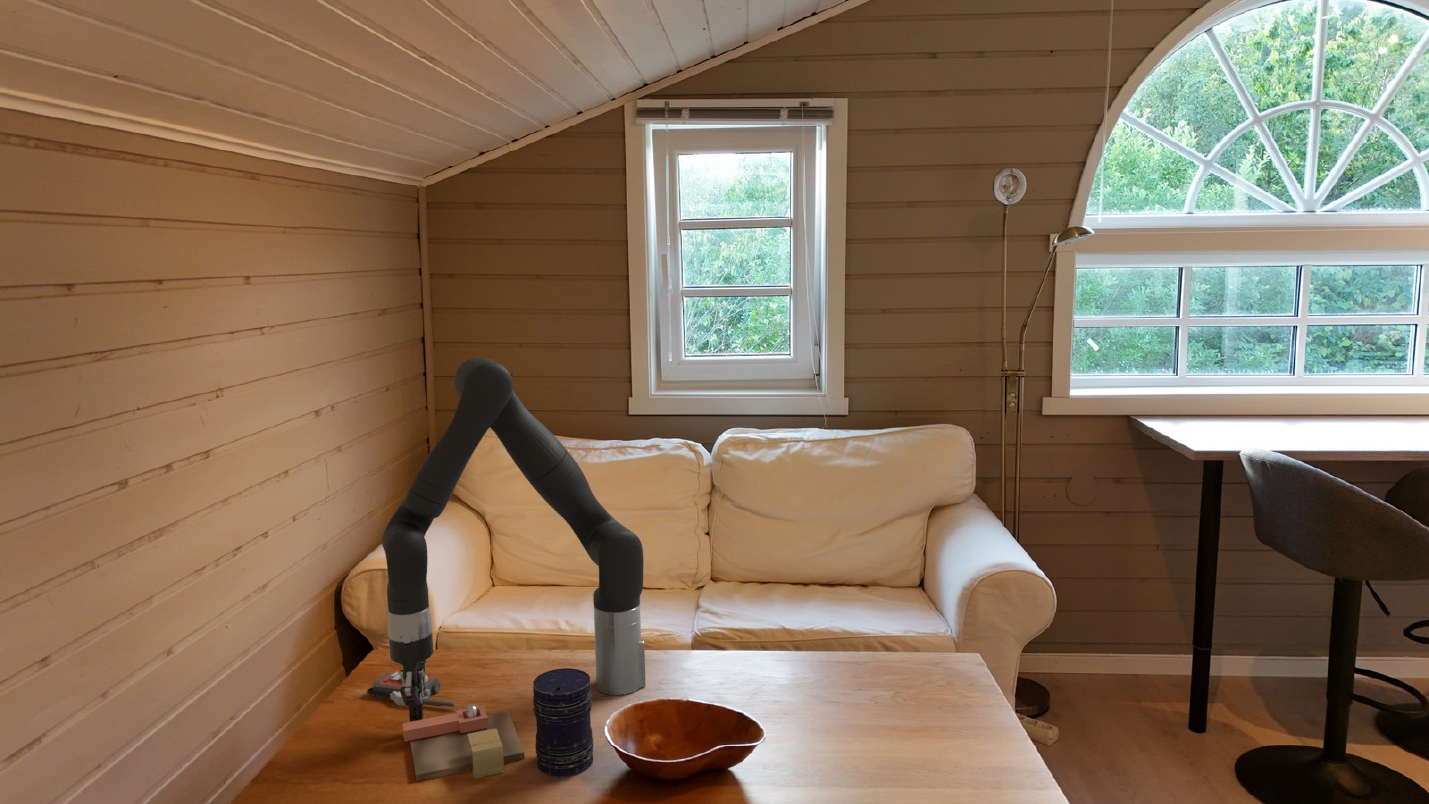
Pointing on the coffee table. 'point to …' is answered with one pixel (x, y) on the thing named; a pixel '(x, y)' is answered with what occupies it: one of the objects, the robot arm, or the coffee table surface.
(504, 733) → the board
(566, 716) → the storage jar
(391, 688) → the walkie-talkie
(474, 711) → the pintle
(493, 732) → the block
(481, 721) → the link
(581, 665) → the coffee table surface
